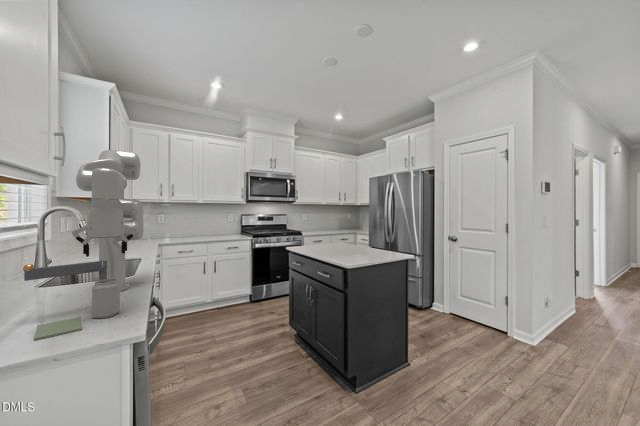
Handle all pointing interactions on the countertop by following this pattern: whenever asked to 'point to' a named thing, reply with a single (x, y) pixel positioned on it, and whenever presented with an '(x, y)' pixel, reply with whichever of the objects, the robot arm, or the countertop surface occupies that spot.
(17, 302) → the countertop surface
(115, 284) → the can
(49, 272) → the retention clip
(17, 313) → the countertop surface
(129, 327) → the countertop surface
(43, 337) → the mat
